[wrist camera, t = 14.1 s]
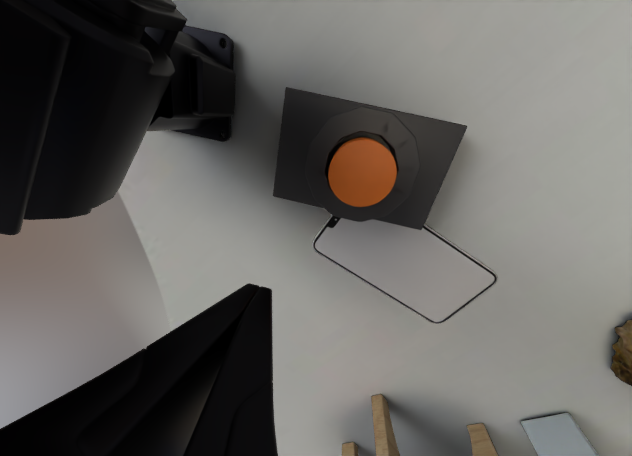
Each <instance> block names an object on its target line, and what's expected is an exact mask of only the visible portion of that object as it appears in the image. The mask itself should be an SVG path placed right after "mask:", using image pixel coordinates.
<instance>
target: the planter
mask: <svg viewBox="0 0 632 456" xmlns="http://www.w3.org/2000/svg"><path fill="white" fill-rule="evenodd" d="M371 398H372V410H373V423H374V435H375V447H376V456H400V454H399V451H398V447H397V444H396V440H395V436H394V432H393V427H392V423H391V418H390V413H389V407H388V402H387V401H386V400H385V398H384V397H383V396H382V394H380V395H375V396H371ZM467 428H468V431H469V434H470V438H471V444H472V455H473V456H498V454H497V452H496V450H495V448H494V445H493V443H492V441H491V439H490V436H489V434H488V432H487V430H486V428H485V426H484V424H483V423H480V424H473V425H467ZM342 456H358V447H357V446H356V445H355V443H354V442H352V443H345V444H342Z"/></svg>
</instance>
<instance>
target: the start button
mask: <svg viewBox="0 0 632 456" xmlns="http://www.w3.org/2000/svg"><path fill="white" fill-rule="evenodd" d="M396 176H397V167H396V162H395V159H394V157H393V155H392V154H391V152H390V151H389V150H388V149H387V148H386V147H385V146H384V145H382V144H381V143H379V142H378V141H376V140H374V139H371V138H366V137H360V138H355V139H351V140H349V141H347V142H346V143H344V144H343V145H342V146H341V147H340V148H339V149H338V150H337V151H336V153H335V154H334V156H333V159H332V161H331V163H330V167H329V172H328V178H329V183H330V186H331V189H332V191H333V193H334V194H335V195H336V196H337V197H338V198H339V199H340V200H341V201H342V202H344V203H346V204H348V205H351V206H355V207H366V206H371V205H374V204H376V203H378V202H380V201H381V200H382V199H384V198H385V197H386V196H387V195H388V194H389V192H390V191H391V190H392V188H393V186H394V184H395V180H396Z"/></svg>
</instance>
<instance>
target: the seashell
mask: <svg viewBox="0 0 632 456" xmlns="http://www.w3.org/2000/svg"><path fill="white" fill-rule="evenodd" d="M615 331H616V333H617V334H618V335H619V336H620V338H619V339H618V341H619V342H617V343H616V344H613V349H614V350H615V351H616V354H615V355H614V356H613V357H612V359H613V363H612V366H611V369H612V371H613V372H614V373H615V376H616V377H618V378H619V379H620V380H621V381H623V382H625V383H627V384H629V385H631V386H632V320H628V321H627V322H626V324H625V325H624V326H623V327H615Z"/></svg>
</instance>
